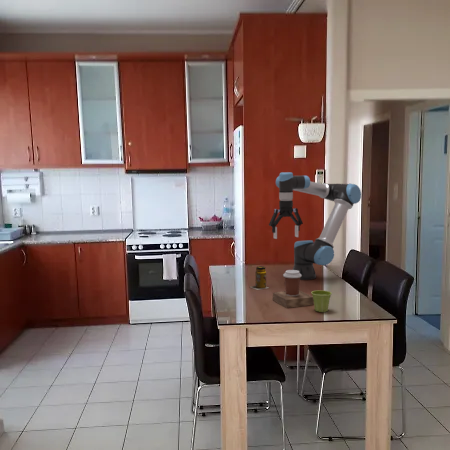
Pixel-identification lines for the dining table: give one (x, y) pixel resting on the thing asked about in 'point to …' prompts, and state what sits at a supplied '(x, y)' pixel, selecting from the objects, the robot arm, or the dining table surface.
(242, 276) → the dining table surface
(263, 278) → the condiment
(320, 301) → the plant pot
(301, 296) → the base slab
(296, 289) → the coffee cup
